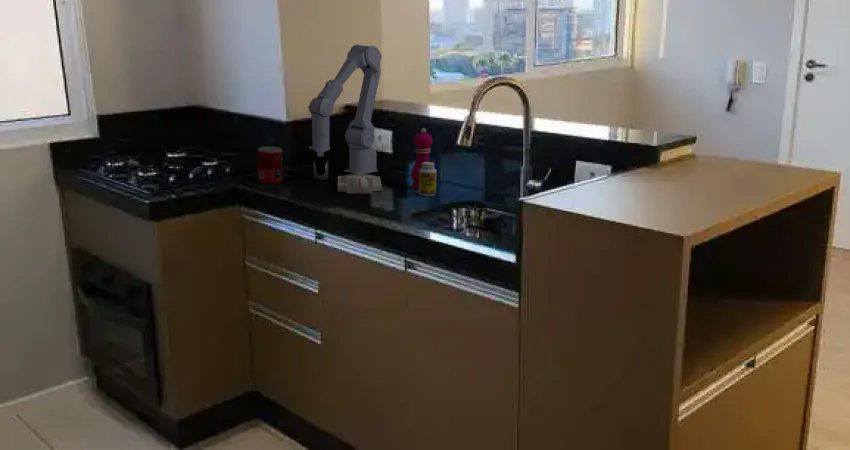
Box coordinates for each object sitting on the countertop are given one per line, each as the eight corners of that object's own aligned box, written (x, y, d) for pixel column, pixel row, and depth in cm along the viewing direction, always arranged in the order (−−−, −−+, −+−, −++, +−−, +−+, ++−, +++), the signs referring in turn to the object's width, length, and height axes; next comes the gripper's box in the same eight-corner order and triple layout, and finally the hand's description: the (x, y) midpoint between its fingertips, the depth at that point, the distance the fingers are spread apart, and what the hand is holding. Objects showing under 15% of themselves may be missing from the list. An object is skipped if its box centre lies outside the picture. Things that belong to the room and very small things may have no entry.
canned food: (280, 184, 268) (279, 151, 265) (256, 183, 268) (255, 150, 265) (284, 179, 275) (284, 147, 272) (260, 178, 275) (260, 146, 272)
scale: (337, 181, 274) (338, 166, 272) (379, 182, 275) (379, 166, 274) (337, 193, 258) (337, 177, 256) (381, 193, 259) (382, 177, 258)
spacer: (321, 175, 282) (321, 158, 280) (331, 178, 279) (331, 161, 277) (310, 177, 278) (310, 160, 277) (320, 180, 275) (320, 162, 274)
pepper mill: (430, 191, 264) (432, 130, 259) (408, 190, 265) (410, 128, 260) (434, 187, 271) (436, 127, 265) (413, 185, 272) (414, 125, 267)
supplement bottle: (418, 196, 257) (419, 164, 254) (418, 192, 263) (419, 161, 260) (436, 196, 257) (437, 165, 255) (435, 192, 263) (436, 161, 260)
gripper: (309, 130, 281) (310, 168, 285) (307, 137, 267) (308, 177, 271) (330, 130, 282) (330, 169, 285) (329, 137, 268) (329, 178, 271)
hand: (321, 173), depth 278 cm, fingers closed on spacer, 5 cm apart
